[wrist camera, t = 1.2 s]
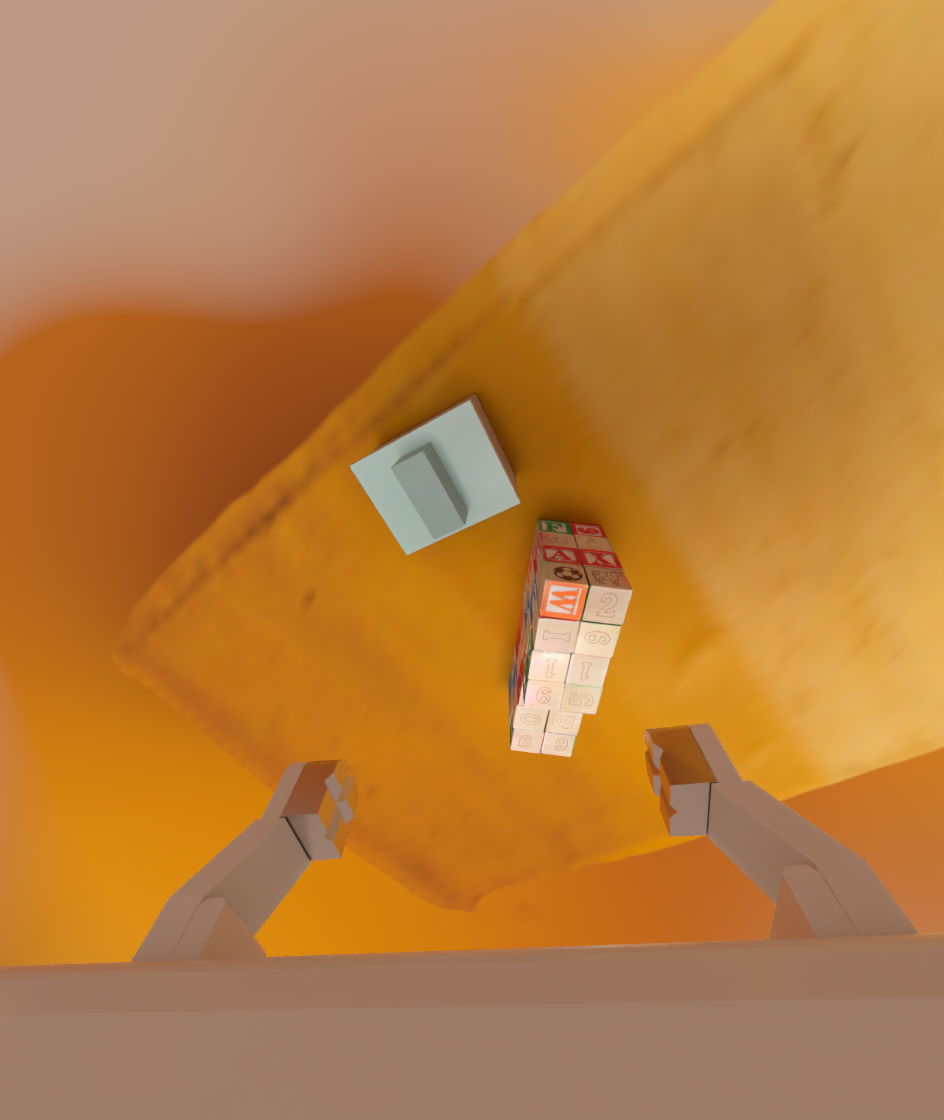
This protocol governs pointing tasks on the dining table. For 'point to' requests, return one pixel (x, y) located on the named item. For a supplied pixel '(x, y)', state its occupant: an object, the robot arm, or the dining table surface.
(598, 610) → the stack of blocks
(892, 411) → the dining table surface
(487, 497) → the lid
